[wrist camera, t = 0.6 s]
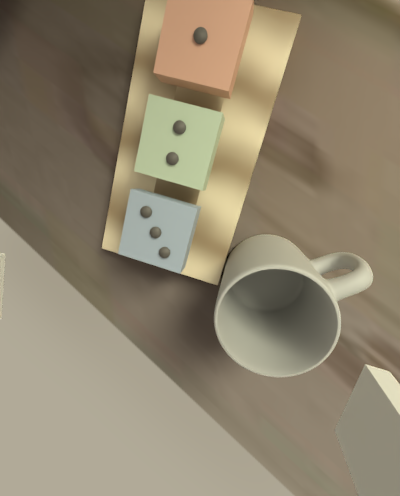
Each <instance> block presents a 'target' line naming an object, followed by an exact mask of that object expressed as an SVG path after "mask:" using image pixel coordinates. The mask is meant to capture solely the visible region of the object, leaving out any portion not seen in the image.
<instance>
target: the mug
mask: <svg viewBox="0 0 400 496" xmlns="http://www.w3.org/2000/svg"><path fill="white" fill-rule="evenodd" d="M337 269H350V270H352V272H350V273H348V274H345V275H342V276H339V277H336V278H332V279H324V278H323V277H322V276H321V275H322V274H325V273H327V272H330V271H333V270H337ZM372 281H373V273H372V270H371V268H370V266H369V265H368V264H367V262H366V261H365V260H364V259H362V258H361V257H359V256H357V255H355V254H352V253H348V252H336V253H331V254H328V255H325V256H322V257H319V258H316V259H312V260H309V259H308V258H307V257H306V256H305V255H304V254H303V253H302V252H301V251H300V250H299V248H298V247H297V246H295V245H294V244H293V243H292V242H290V241H289V240H287V239H285V238H283V237H280V236H276V235H269V234H263V235H256V236H253V237H250V238H248V239H245V240H244V241H242V242H241V243H239V244H238V245H237V246H236V247H235V248H234V249H233V250H232V252H231V253H230V255H229V257H228V259H227V261H226V264H225V269H224V274H223V278H222V281H221V285H220V289H219V293H218V296H217V300H216V304H215V310H214V327H215V331H216V335H217V338H218V340H219V342H220V344H221V346H222V348H223V349H224V350H225V352H226V353H227V354H228V355H229V357H230V358H231V359H232V360H234V361H235V362H236V363H237V364H239V365H240V366H242V367H243V368H245V369H247V370H249V371H251V372H254V373H256V374H259V375H263V376H269V377H290V376H295V375H299V374H302V373H305V372H307V371H310V370H312V369H313V368H315V367H317V366H318V365H319V364H321V363H322V362H323V361H324V360H325V359H326V358H327V357H328V356H329V355H330V353H331V352H332V351H333V349H334V347H335V345H336V343H337V341H338V338H339V335H340V329H341V316H340V310H339V307H338V304H337V301H339V300H341V299H344V298H346V297H349V296H352V295H355V294H357V293H360V292H361V291H363V290H365V289H367V288H368V287H369V286H370V285H371V284H372Z"/></svg>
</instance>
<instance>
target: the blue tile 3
mask: <svg viewBox="0 0 400 496" xmlns="http://www.w3.org/2000/svg"><path fill="white" fill-rule="evenodd" d="M200 210H201V206H198V205H194V204H191V203H187V202H184V201H181V200H177V199H174V198H170V197H167V196H163V195H160V194H157V193H153V192H150V191H146V190H143V189H140V188H139V189H130V194H129V200H128V205H127V210H126V215H125V220H124V225H123V231H122V236H121V241H120V246H119V251H118V254H120V255H123V256H126V257H129V258H132V259H136V260H139V261H142V262H145V263H148V264H151V265H154V266H157V267H160V268H164V269H167V270H170V271H173V272H176V273H179V274H180V273H181V272H182V271H183V269H184V268H185V266H186V262H187V258H188V255H189V251H190V247H191V243H192V240H193V236H194V232H195V229H196V225H197V221H198V217H199V214H200Z"/></svg>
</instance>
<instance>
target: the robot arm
mask: <svg viewBox="0 0 400 496" xmlns="http://www.w3.org/2000/svg"><path fill="white" fill-rule="evenodd" d="M5 256H6V255H5V254H4V253H0V319H1V318H2V304H3V288H4V272H5ZM335 433H336V436H337V438H338V441H339V444H340V447H341V449H342V452H343V455H344V457H345V460H346V463H347V466H348V468H349V471H350V474H351V477H352V479H353V482H354V485H355V487H356V490H357V493H358V496H400V384H399V383H398V382H397V380H396V379H395V378H394V377H393V375H392V374H391V373H390V372H389V371H386V370H383V369H379V368H376V367H373V366H369V365H366V364H365V366H364V368H363V370H362V372H361V374H360V376H359V379H358V381H357V383H356V385H355V387H354V389H353V391H352V394H351V396H350V398H349V400H348V402H347V404H346V406H345V409H344V411H343V413H342V415H341V417H340V419H339V421H338V424H337V426H336V428H335Z"/></svg>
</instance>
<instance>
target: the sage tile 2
mask: <svg viewBox="0 0 400 496" xmlns="http://www.w3.org/2000/svg"><path fill="white" fill-rule="evenodd" d="M224 121H225V117H224V114H223V113H222V112H218V111H214V110H211V109H207V108H203V107H199V106H195V105H191V104H187V103H183V102H179V101H175V100H171V99H167V98H164V97H160V96H156V95H152V94H149V96H148V102H147V107H146V112H145V117H144V122H143V127H142V133H141V138H140V143H139V148H138V153H137V158H136V164H135V169H134V171H135V172H139V173H142V174H146V175H149V176H152V177H156V178H159V179H163V180H166V181H170V182H173V183H177V184H180V185H184V186H187V187H191V188H194V189H198V190H201V191H204V190H206V188H207V184H208V180H209V177H210V173H211V169H212V165H213V162H214V158H215V154H216V151H217V147H218V143H219V139H220V136H221V132H222V128H223V125H224Z"/></svg>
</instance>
